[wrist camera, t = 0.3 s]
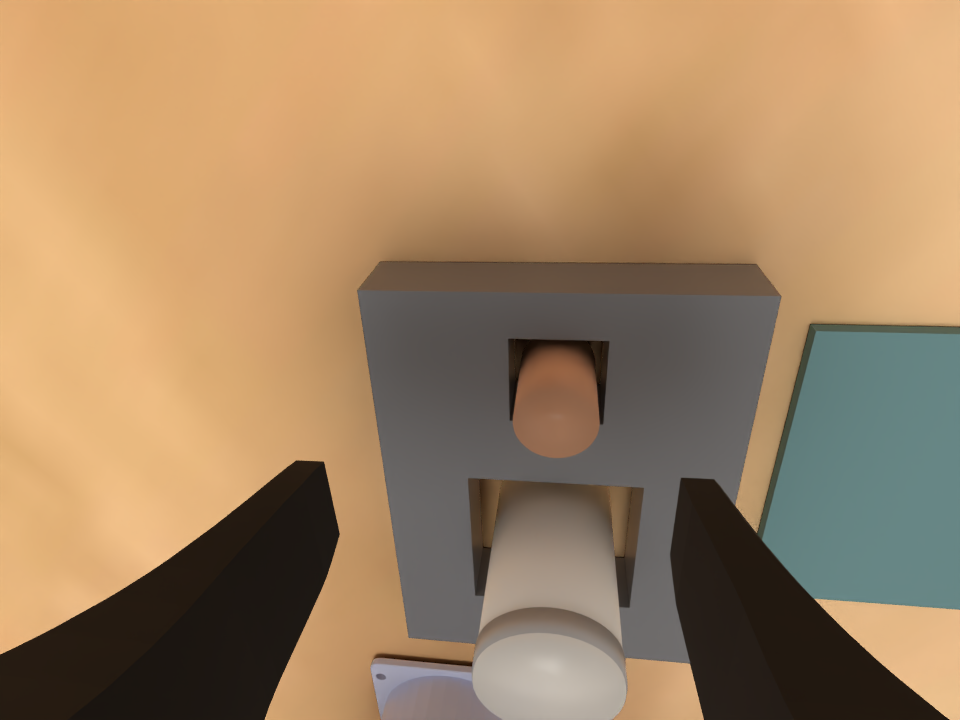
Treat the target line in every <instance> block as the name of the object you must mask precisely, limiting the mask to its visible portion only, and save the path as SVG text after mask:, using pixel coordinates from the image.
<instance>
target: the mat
mask: <svg viewBox="0 0 960 720" xmlns="http://www.w3.org/2000/svg"><path fill="white" fill-rule="evenodd" d="M757 535H758V536H759V537H760V538H761V539H762V541H763V542H764V543H765V544H766V545H767V547H768V548H769V549H770V550H771V551H772V553H773V554H774V555H775V556H776V557H777V558H778V560H779V561H780V562H781V563H782V564H783V565H784V567H785V568H786V569H787V570H788V571H789V572H790V573H791V575H792V576H793V577H794V578H795V579H796V580H797V581H798V582H799V583H800V585H801V586H802V587H803V588H804V589H805V590H806V591H807V592H808V593H809V594H810V595H811V596H812V597H813V598H814V599H827V600H840V601H854V602H867V603H880V604H893V605H906V606H919V607H932V608H946V609H959V610H960V327H924V326H874V325H823V324H810V328H809V332H808V336H807V340H806V344H805V348H804V352H803V356H802V360H801V364H800V368H799V372H798V376H797V380H796V384H795V388H794V392H793V396H792V400H791V403H790V407H789V411H788V415H787V419H786V423H785V427H784V431H783V435H782V439H781V443H780V447H779V451H778V455H777V459H776V463H775V467H774V471H773V475H772V479H771V482H770V486H769V490H768V494H767V498H766V502H765V506H764V510H763V514H762V518H761V522H760V526H759V530H758V534H757Z"/></svg>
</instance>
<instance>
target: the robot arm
mask: <svg viewBox="0 0 960 720" xmlns="http://www.w3.org/2000/svg"><path fill="white" fill-rule="evenodd" d="M339 535H340V533H339V529H338V524H337V520H336V515H335V510H334V506H333V501H332V497H331V492H330V487H329V483H328V478H327V474H326V469H325V464H324V462H319V461H297V460H296V461H295V462H294V463H292V464H291V465H290V466H288V467H287V468H286V469H285V470H283V471H282V472H281V473H279V474H278V475H277V476H276V477H275V478H273V479H272V480H271V481H270V482H268V483H267V484H266V485H265V486H264V487H262V488H261V489H260V490H259V491H257V492H256V493H255V494H254V495H252V496H251V497H250V498H249V499H248V500H246V501H245V502H244V503H243V504H241V505H240V506H239V507H238V508H236V509H235V510H234V511H233V512H231V513H230V514H229V515H228V516H226V517H225V518H224V519H222V520H221V521H220V522H219V523H217V524H216V525H215V526H213V527H212V528H211V529H209V530H208V531H207V532H205V533H204V534H203V535H201V536H200V537H199V538H197V539H196V540H194V541H193V542H192V543H190V544H189V545H188V546H186V547H185V548H184V549H182V550H181V551H179V552H178V553H177V554H175V555H174V556H173V557H171V558H170V559H168V560H167V561H165V562H164V563H163V564H161V565H160V566H158V567H157V568H155V569H154V570H152V571H151V572H149V573H148V574H146V575H145V576H143V577H141V578H140V579H138V580H137V581H135V582H133V583H132V584H130V585H129V586H127V587H125V588H124V589H122V590H121V591H119V592H117V593H116V594H114V595H112V596H111V597H109V598H107V599H106V600H104V601H102V602H100V603H98V604H97V605H95V606H93V607H91V608H89V609H88V610H86V611H84V612H82V613H80V614H79V615H77V616H75V617H73V618H71V619H70V620H68V621H66V622H64V623H62V624H61V625H59V626H57V627H55V628H53V629H51V630H49V631H47V632H46V633H44V634H42V635H40V636H38V637H36V638H34V639H32V640H29V641H27V642H25V643H23V644H21V645H19V646H17V647H15V648H13V649H11V650H9V651H7V652H5V653H3V654H0V720H265V717H266V714H267V711H268V708H269V705H270V703H271V700H272V698H273V695H274V693H275V691H276V688H277V686H278V683H279V681H280V679H281V677H282V674H283V672H284V670H285V668H286V666H287V664H288V661H289V659H290V657H291V655H292V653H293V651H294V648H295V646H296V644H297V642H298V640H299V638H300V635H301V633H302V631H303V629H304V627H305V625H306V622H307V620H308V618H309V616H310V614H311V611H312V609H313V607H314V605H315V603H316V600H317V598H318V596H319V594H320V591H321V589H322V587H323V585H324V582H325V580H326V577H327V574H328V571H329V568H330V565H331V562H332V559H333V555H334V552H335V549H336V545H337V542H338V538H339ZM670 561H671V569H672V578H673V586H674V593H675V601H676V607H677V611H678V615H679V620H680V624H681V628H682V632H683V636H684V640H685V644H686V648H687V652H688V656H689V660H690V665H691V669H692V673H693V677H694V681H695V685H696V689H697V693H698V697H699V701H700V705H701V709H702V713H703V717H704V720H949V719H948V718H946V717H945V716H944V715H943V714H941V713H940V712H939V711H938V710H936V709H935V708H934V707H933V706H932V705H930V704H929V703H928V702H927V701H925V700H924V699H923V698H922V697H920V696H919V695H918V694H917V693H916V692H914V691H913V690H912V689H911V688H909V687H908V686H907V685H906V684H904V683H903V682H902V681H901V680H900V679H898V678H897V677H896V676H895V675H894V674H892V673H891V672H890V671H889V670H888V669H887V668H886V667H884V666H883V665H882V664H881V663H880V662H879V661H877V660H876V659H875V658H874V657H873V656H872V655H871V654H870V653H869V652H868V651H866V650H865V649H864V648H863V647H862V646H861V645H860V644H859V643H858V642H857V641H856V640H855V639H854V638H852V637H851V636H850V635H849V634H848V633H847V632H846V631H845V630H844V629H843V628H842V627H841V626H840V625H839V624H838V623H837V622H836V621H835V620H834V619H833V618H832V617H831V616H830V615H829V614H828V613H827V612H826V611H825V610H824V609H823V608H822V607H821V606H820V605H819V604H818V603H817V602H816V601H815V600H814V598H813V597H812V596H811V595H810V594H809V593H808V592H807V591H806V590H805V589H804V588H803V587H802V586H801V585H800V583H799V582H798V581H797V580H796V579H795V578H794V577H793V576H792V575H791V573H790V572H789V571H788V570H787V569H786V568H785V567H784V565H783V564H782V563H781V562H780V561H779V560H778V558H777V557H776V556H775V555H774V554H773V553H772V551H771V550H770V549H769V548H768V547H767V545H766V544H765V543H764V542H763V541H762V539H761V538H760V537H759V536H758V535H757V533H756V532H755V531H754V530H753V528H752V527H751V526H750V524H749V523H748V522H747V521H746V519H745V518H744V517H743V516H742V514H741V513H740V512H739V510H738V509H737V508H736V506H735V505H734V504H733V502H732V501H731V500H730V498H729V497H728V496H727V494H726V493H725V492H724V490H723V489H722V488H721V486H720V485H719V484H718V483H717V482H716V481H715V480H714V479H703V478H681V480H680V487H679V494H678V501H677V508H676V515H675V522H674V529H673V536H672V543H671V550H670ZM370 669H371V674H372V679H373V684H374V689H375V693H376V698H377V703H378V708H379V713H380V718H381V720H502V719H501V718H499V717H498V716H496V715H495V714H493V713H492V712H491V711H489V710H488V709H487V708H486V707H485V706H484V705H483V704H482V703H481V701H480V700H479V699H478V697H477V695H476V693H475V691H474V688H473V683H472V667H471V666H461V665H450V664H440V663H430V662H419V661H409V660H399V659H388V658H376V659H374V660H373V661H372V664H371V668H370Z"/></svg>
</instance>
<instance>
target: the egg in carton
mask: <svg viewBox="0 0 960 720" xmlns="http://www.w3.org/2000/svg"><path fill="white" fill-rule="evenodd" d="M599 426H600V421H599V408H598V395H597V382H596V369H595V358H594V353H593V351H592V349H591V347H590V345H589V344H588V343H587V342H586V341H585V340H544V339H531V340H530V341H529V342H528V344H527V345H526V347H525V348H524V351H523V353H522V358H521V365H520V372H519V379H518V386H517V393H516V400H515V407H514V414H513V428H514V432H515V434H516V436H517V438H518V439H519V441H520V442H521V443H522V444H523V445H524V446H525V447H526V448H527V449H529V450H530V451H532V452H534V453H536V454H538V455H541V456H544V457H549V458H566V457H570V456H574V455H576V454H579V453H581V452H582V451H584V450H585V449H587V448H588V447H589V446H590V445H591V444H592V443H593V442H594V440H595V439H596V437H597V435H598V431H599Z"/></svg>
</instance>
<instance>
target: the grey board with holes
mask: <svg viewBox="0 0 960 720" xmlns="http://www.w3.org/2000/svg"><path fill="white" fill-rule="evenodd" d="M357 292H358V298H359V305H360V312H361V319H362V325H363V332H364V339H365V346H366V352H367V359H368V366H369V373H370V379H371V386H372V393H373V400H374V406H375V413H376V420H377V427H378V433H379V440H380V447H381V454H382V460H383V467H384V474H385V481H386V487H387V494H388V501H389V508H390V514H391V521H392V528H393V535H394V541H395V548H396V555H397V562H398V568H399V575H400V582H401V589H402V595H403V602H404V609H405V616H406V622H407V629H408V636H409V638H417V639H428V640H439V641H450V642H461V643H472V644H476V640H477V637H478V635H479V629H480V622H481V615H482V608H483V602H484V595H485V588H486V582H487V575H488V568H489V561H490V555H491V548H483V539H482V520H481V500H480V480H479V479H495V480H513V481H531V482H549V483H567V484H585V485H604V486H622V487H632V493H631V502H630V511H629V520H628V529H627V538H626V548H625V557H624V558H619V557H615V565H616V577H617V589H618V600H619V612H620V624H621V636H622V647H623V651H624V655H625V658H635V659H646V660H657V661H668V662H679V663H689V664H690V660H689V656H688V652H687V648H686V644H685V640H684V636H683V632H682V628H681V624H680V620H679V615H678V611H677V607H676V601H675V593H674V586H673V578H672V569H671V561H670V550H671V543H672V536H673V529H674V522H675V515H676V508H677V501H678V494H679V487H680V480H681V478H703V479H714V480H715V481H716V482H717V483H718V484H719V485H720V486H721V488H722V489H723V490H724V492H725V493H726V494H727V496H728V497H729V498H730V500H731V501H732V502H733V504H734V505H735V503H736V499H737V494H738V490H739V485H740V481H741V476H742V472H743V467H744V463H745V458H746V454H747V449H748V444H749V440H750V435H751V431H752V426H753V422H754V417H755V413H756V408H757V404H758V399H759V395H760V390H761V386H762V381H763V377H764V372H765V368H766V363H767V359H768V354H769V350H770V345H771V341H772V336H773V332H774V327H775V323H776V318H777V314H778V309H779V304H780V300H781V295H780V294H779V293H778V291H777V290H776V289H775V287H774V286H773V285H772V284H771V282H770V281H769V280H768V279H767V277H766V276H765V275H764V273H763V272H762V271H761V270H760V268H759V267H758V266H757V264H630V263H497V262H379V264H378V265H377V266H376V267H375V269H374V270H373V271H372V272H371V274H370V275H369V276H368V277H367V279H366V280H365V281H364V282H363V284H362V285H361V286H360V288H359V289H358V290H357ZM515 339H544V340H586V341H603V345H602V360H601V375H600V384H597V395H598V408H599V421H600V426H599V431H598V435H597V437H596V439H595V440H594V442H593V443H592V444H591V445H590V446H589V447H588V448H587V449H585V450H584V451H582V452H581V453H579V454H576V455H574V456H570V457H566V458H549V457H544V456H541V455H538V454H536V453H534V452H532V451H530V450H529V449H527V448H526V447H525V446H524V445H523V444H522V443H521V442H520V441H519V439H518V438H517V436H516V434H515V432H514V428H513V414H514V407H515V400H516V393H517V386H518V381H516V380H515Z"/></svg>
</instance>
